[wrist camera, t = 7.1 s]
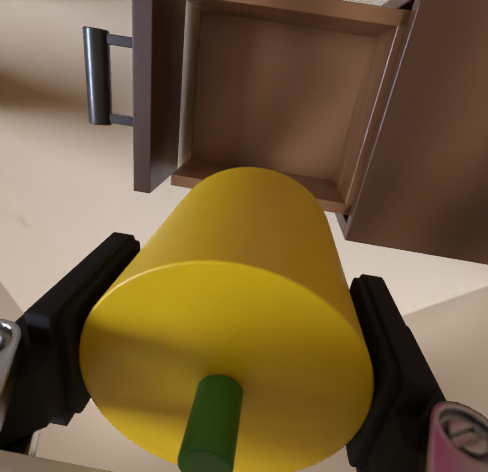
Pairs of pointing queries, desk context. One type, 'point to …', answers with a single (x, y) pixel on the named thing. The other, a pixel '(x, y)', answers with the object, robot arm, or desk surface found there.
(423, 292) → the desk surface
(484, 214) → the cabinet
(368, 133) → the drawer
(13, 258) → the desk surface
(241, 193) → the pepper
